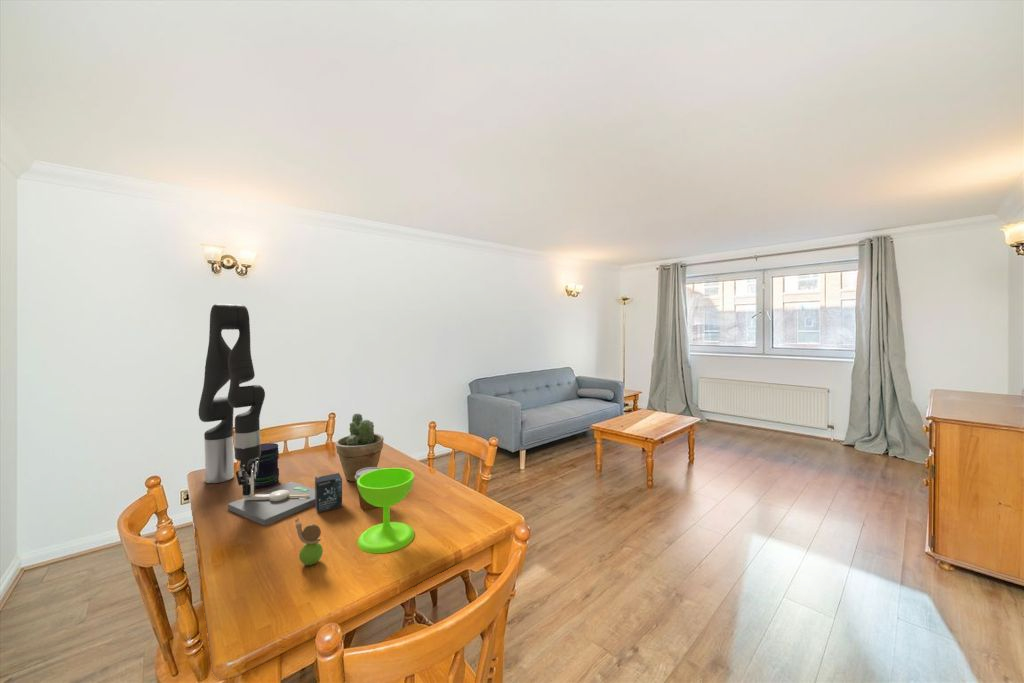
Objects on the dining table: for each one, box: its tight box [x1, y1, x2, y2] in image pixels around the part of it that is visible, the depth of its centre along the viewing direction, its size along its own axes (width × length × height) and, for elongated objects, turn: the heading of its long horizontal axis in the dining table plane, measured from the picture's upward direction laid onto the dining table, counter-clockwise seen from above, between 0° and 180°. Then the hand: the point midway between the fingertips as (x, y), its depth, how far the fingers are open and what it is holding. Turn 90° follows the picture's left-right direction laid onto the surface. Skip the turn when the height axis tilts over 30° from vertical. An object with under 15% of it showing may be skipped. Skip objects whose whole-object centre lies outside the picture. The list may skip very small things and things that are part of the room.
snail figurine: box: [295, 517, 324, 566], centre depth 102 cm, size 5×6×12 cm
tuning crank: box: [242, 475, 310, 502], centre depth 136 cm, size 22×6×8 cm, turn 96°
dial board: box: [227, 481, 315, 527], centre depth 137 cm, size 22×22×2 cm
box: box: [314, 472, 343, 514], centre depth 134 cm, size 8×6×11 cm
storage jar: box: [254, 442, 280, 491], centre depth 153 cm, size 10×10×15 cm
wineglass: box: [356, 467, 415, 554], centre depth 115 cm, size 16×16×18 cm
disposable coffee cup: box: [355, 466, 383, 510], centre depth 136 cm, size 10×10×12 cm
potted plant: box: [335, 413, 385, 483], centre depth 161 cm, size 18×19×25 cm
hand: (248, 492), depth 135 cm, fingers closed on tuning crank, 3 cm apart
